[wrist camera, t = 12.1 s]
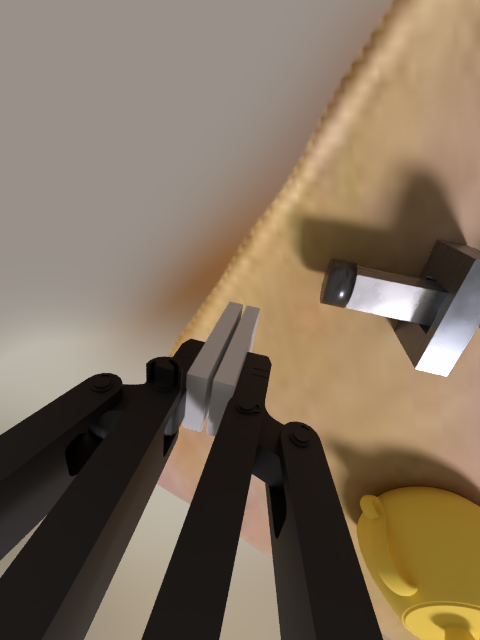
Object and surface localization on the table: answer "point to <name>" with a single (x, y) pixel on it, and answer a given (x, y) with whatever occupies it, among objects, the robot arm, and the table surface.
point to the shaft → (382, 292)
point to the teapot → (425, 559)
